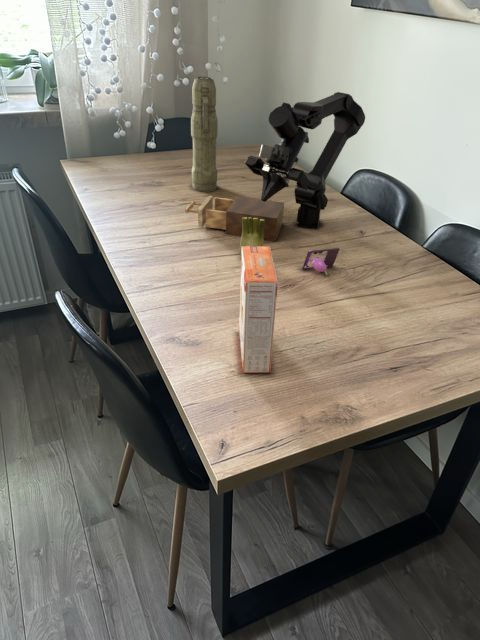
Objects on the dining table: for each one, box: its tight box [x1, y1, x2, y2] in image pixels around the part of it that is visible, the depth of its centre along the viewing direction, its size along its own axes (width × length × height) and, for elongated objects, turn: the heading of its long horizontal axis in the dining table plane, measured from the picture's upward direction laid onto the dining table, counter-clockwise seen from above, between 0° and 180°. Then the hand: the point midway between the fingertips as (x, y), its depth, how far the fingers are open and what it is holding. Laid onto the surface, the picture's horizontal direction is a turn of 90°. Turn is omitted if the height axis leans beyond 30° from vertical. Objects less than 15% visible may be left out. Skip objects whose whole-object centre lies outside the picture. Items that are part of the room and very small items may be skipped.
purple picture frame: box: [301, 247, 340, 276], centre depth 133 cm, size 7×5×9 cm
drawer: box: [184, 195, 234, 231], centre depth 154 cm, size 19×12×6 cm, turn 79°
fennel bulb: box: [239, 217, 265, 256], centre depth 135 cm, size 6×5×12 cm
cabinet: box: [225, 195, 285, 242], centre depth 153 cm, size 15×13×7 cm
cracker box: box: [238, 246, 279, 374], centre depth 98 cm, size 14×6×21 cm, turn 5°
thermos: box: [190, 76, 219, 193], centre depth 171 cm, size 9×12×35 cm
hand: (262, 200), depth 136 cm, fingers closed
